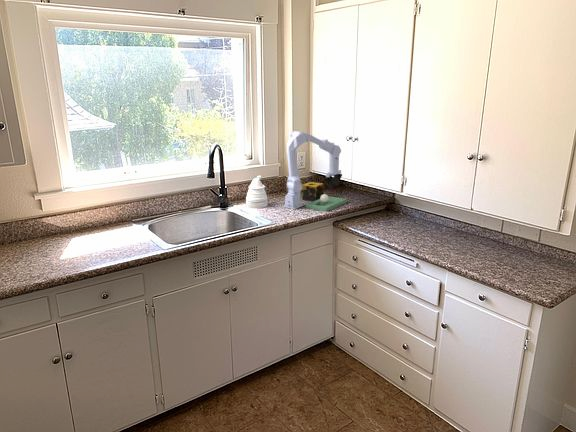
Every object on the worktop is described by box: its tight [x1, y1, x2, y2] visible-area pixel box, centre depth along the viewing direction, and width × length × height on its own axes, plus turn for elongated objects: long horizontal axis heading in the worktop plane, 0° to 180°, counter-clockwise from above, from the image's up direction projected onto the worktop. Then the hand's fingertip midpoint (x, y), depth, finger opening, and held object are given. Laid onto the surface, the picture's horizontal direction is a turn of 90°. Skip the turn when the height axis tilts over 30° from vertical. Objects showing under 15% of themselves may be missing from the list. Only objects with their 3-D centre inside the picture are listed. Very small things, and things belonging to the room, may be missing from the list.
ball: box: [320, 193, 329, 203], centre depth 256 cm, size 5×5×5 cm
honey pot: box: [245, 175, 268, 209], centre depth 256 cm, size 13×13×18 cm
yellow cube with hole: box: [301, 181, 324, 202], centre depth 270 cm, size 10×10×10 cm
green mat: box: [305, 195, 348, 212], centre depth 258 cm, size 24×14×2 cm, turn 143°
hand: (333, 186), depth 263 cm, fingers open, 7 cm apart
